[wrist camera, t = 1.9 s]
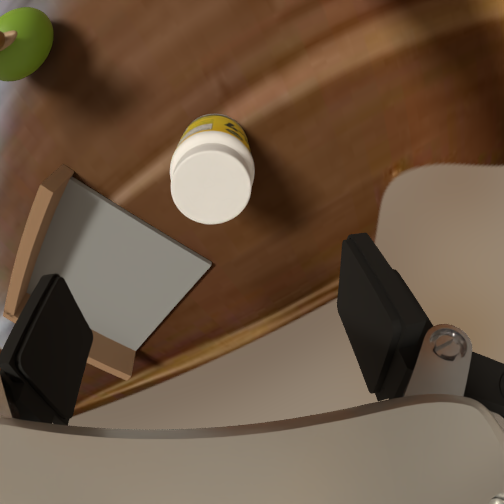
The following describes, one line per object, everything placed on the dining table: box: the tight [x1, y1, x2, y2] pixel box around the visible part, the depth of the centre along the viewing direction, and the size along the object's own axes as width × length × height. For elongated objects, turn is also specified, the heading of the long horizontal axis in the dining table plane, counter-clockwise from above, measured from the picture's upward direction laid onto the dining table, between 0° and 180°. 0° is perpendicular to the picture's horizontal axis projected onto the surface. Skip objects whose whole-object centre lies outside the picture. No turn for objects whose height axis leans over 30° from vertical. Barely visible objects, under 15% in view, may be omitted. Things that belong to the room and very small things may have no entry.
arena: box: [3, 164, 212, 380], centre depth 27 cm, size 17×15×4 cm
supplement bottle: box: [170, 114, 255, 224], centre depth 19 cm, size 5×5×8 cm
